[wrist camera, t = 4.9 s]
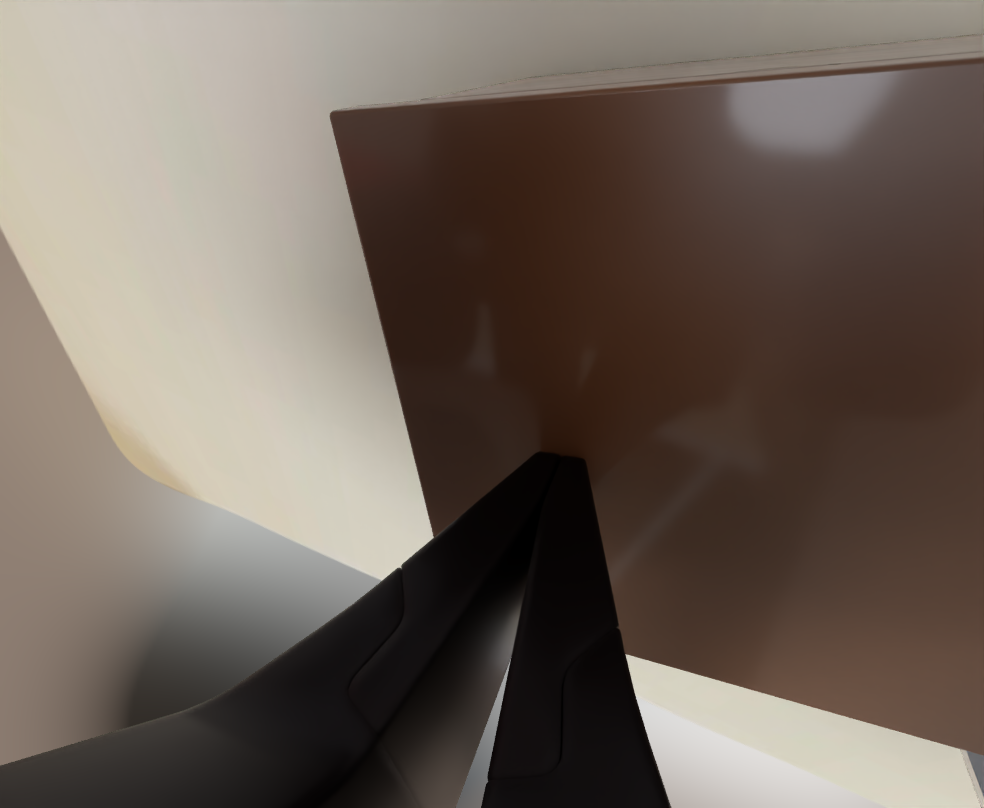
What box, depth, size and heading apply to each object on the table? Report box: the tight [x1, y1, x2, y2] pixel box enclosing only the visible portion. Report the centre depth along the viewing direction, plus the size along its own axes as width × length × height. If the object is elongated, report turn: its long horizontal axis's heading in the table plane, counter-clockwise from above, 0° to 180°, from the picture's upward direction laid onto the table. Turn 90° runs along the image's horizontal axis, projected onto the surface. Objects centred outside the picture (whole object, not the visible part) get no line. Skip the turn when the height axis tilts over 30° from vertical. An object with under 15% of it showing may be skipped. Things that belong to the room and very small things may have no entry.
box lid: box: [330, 52, 984, 756], centre depth 8 cm, size 13×12×1 cm
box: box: [420, 34, 984, 101], centre depth 10 cm, size 12×12×6 cm
